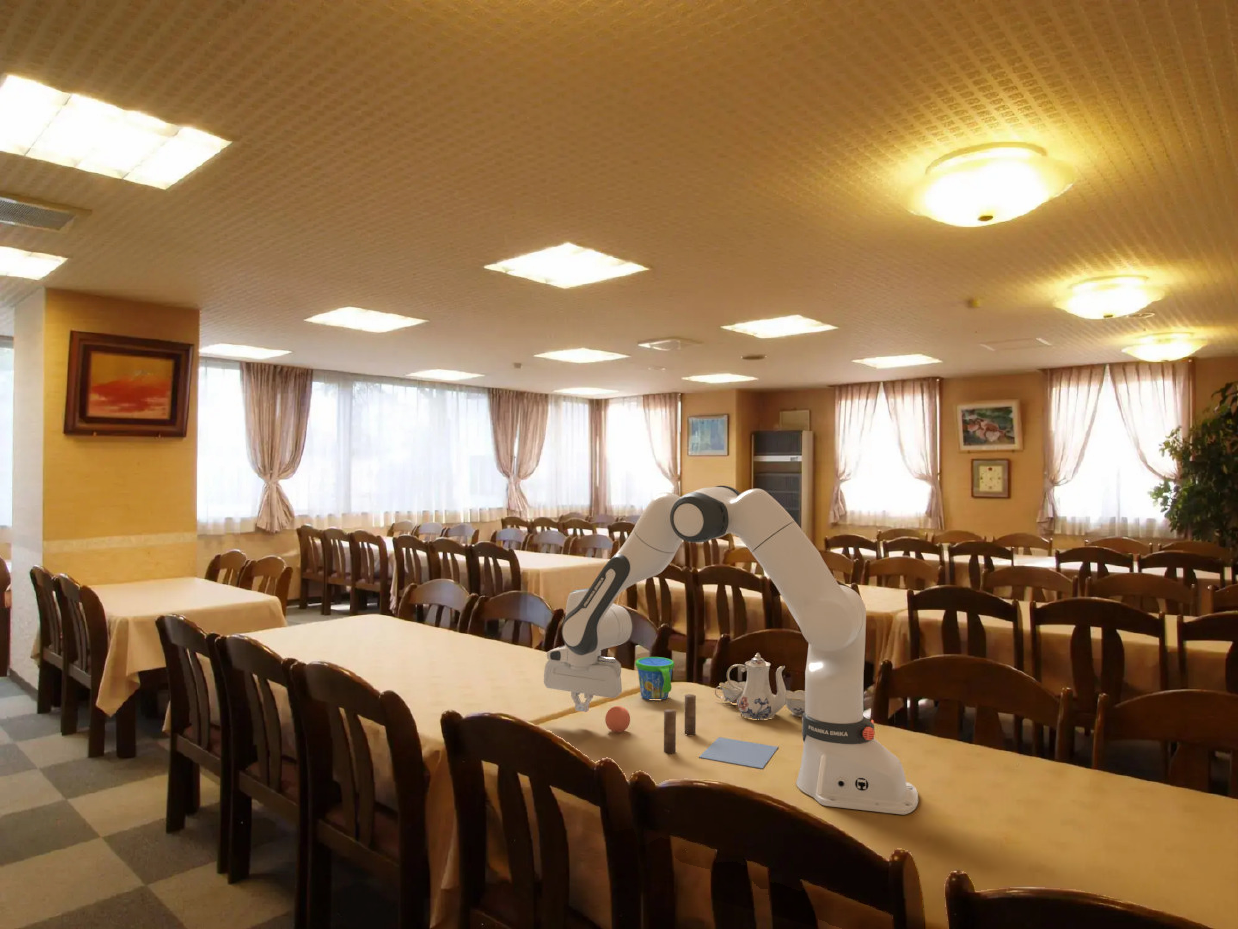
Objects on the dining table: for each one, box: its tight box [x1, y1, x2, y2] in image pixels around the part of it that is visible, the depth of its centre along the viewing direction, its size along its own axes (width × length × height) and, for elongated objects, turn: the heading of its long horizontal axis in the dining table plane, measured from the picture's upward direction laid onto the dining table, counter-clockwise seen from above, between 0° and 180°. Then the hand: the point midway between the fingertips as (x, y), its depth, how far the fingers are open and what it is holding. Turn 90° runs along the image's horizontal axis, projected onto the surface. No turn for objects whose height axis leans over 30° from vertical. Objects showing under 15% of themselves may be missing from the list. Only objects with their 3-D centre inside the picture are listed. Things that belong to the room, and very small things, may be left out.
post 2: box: [684, 693, 697, 736], centre depth 175 cm, size 3×3×9 cm
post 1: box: [663, 708, 677, 755], centre depth 163 cm, size 3×3×9 cm
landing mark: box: [698, 736, 779, 770], centre depth 163 cm, size 14×14×1 cm
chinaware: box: [714, 652, 805, 720], centre depth 192 cm, size 28×17×17 cm, turn 65°
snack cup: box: [635, 656, 675, 700], centre depth 204 cm, size 16×10×10 cm
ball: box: [604, 705, 631, 733], centre depth 176 cm, size 6×6×6 cm
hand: (581, 710), depth 180 cm, fingers closed
